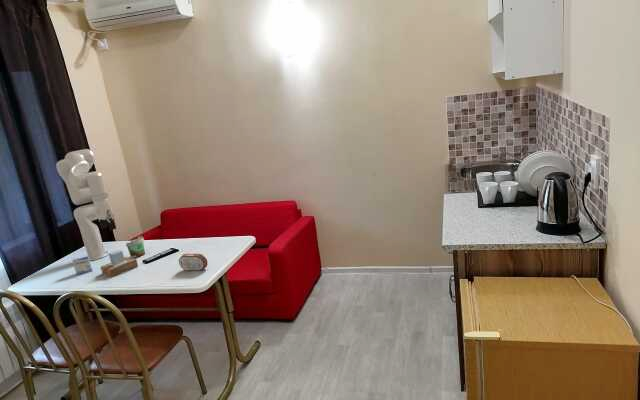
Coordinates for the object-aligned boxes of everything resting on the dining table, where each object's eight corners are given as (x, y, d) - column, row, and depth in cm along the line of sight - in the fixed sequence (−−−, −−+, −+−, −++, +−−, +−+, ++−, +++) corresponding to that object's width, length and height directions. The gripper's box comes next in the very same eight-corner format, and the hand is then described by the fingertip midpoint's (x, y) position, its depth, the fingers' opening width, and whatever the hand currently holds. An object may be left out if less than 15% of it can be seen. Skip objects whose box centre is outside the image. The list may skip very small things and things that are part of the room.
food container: (139, 259, 258) (135, 242, 256) (130, 259, 260) (125, 243, 257) (151, 251, 270) (147, 235, 268) (142, 251, 271) (138, 235, 269)
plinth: (102, 273, 243) (100, 266, 242) (127, 263, 254) (125, 256, 253) (113, 277, 236) (110, 269, 235) (138, 266, 246) (136, 259, 245)
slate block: (111, 264, 244) (108, 253, 242) (120, 260, 247) (117, 250, 246) (115, 265, 240) (112, 254, 239) (125, 261, 244) (122, 251, 242)
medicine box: (76, 275, 248) (72, 260, 245) (76, 273, 251) (72, 258, 249) (92, 271, 251) (88, 256, 249) (92, 268, 255) (88, 254, 253)
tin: (209, 268, 226) (205, 252, 224) (205, 271, 223) (202, 255, 221) (183, 269, 231) (180, 253, 229) (180, 271, 228) (176, 255, 226)
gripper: (85, 198, 238) (94, 229, 242) (100, 199, 227) (109, 232, 231) (99, 194, 244) (108, 225, 248) (115, 195, 232) (123, 227, 236)
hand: (108, 228), depth 239 cm, fingers open, 9 cm apart
